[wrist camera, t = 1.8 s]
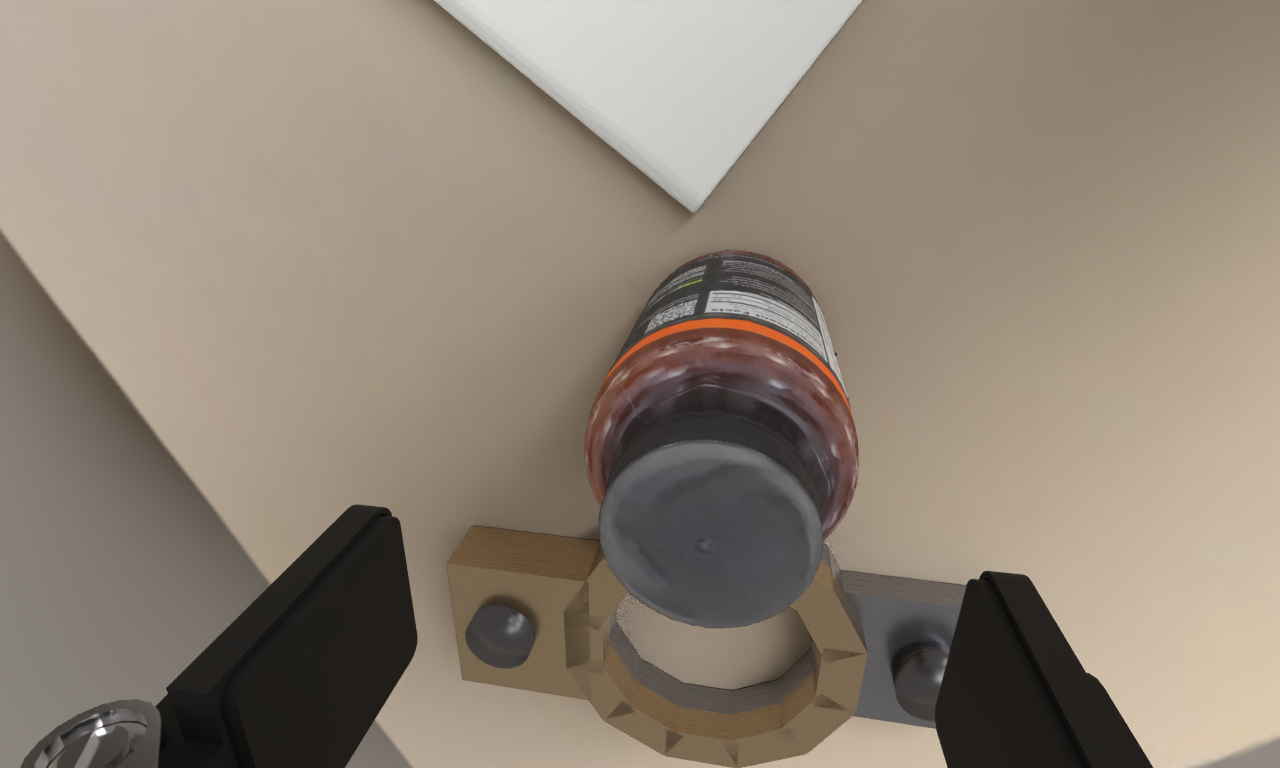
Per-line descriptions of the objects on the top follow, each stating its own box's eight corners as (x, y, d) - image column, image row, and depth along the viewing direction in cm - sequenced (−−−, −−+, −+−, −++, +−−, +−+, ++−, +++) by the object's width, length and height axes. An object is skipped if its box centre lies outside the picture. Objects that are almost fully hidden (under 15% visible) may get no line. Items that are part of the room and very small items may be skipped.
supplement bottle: (749, 446, 23) (736, 722, 13) (611, 350, 23) (483, 560, 12) (866, 317, 21) (963, 534, 10) (713, 206, 20) (658, 320, 10)
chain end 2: (1010, 532, 23) (1036, 578, 21) (946, 750, 27) (962, 806, 25) (577, 485, 25) (558, 522, 23) (584, 692, 30) (569, 739, 27)
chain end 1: (875, 517, 23) (889, 572, 21) (835, 732, 28) (842, 800, 25) (466, 473, 26) (431, 517, 23) (489, 677, 30) (462, 734, 28)
